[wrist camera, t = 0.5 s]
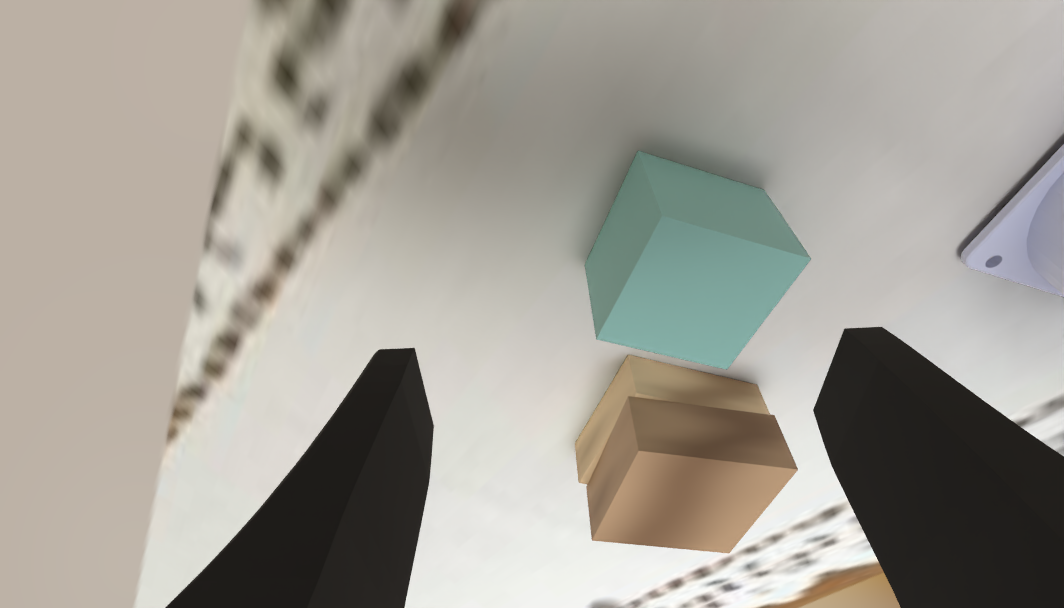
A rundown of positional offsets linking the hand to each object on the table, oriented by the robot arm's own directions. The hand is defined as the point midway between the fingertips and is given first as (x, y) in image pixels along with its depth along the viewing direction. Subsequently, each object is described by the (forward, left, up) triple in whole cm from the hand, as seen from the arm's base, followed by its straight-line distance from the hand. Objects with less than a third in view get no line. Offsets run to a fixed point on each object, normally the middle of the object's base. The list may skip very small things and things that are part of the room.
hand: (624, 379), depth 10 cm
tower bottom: (-8, +11, -10) cm, 17 cm away
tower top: (-8, +11, -8) cm, 16 cm away
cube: (-4, +2, -10) cm, 11 cm away
